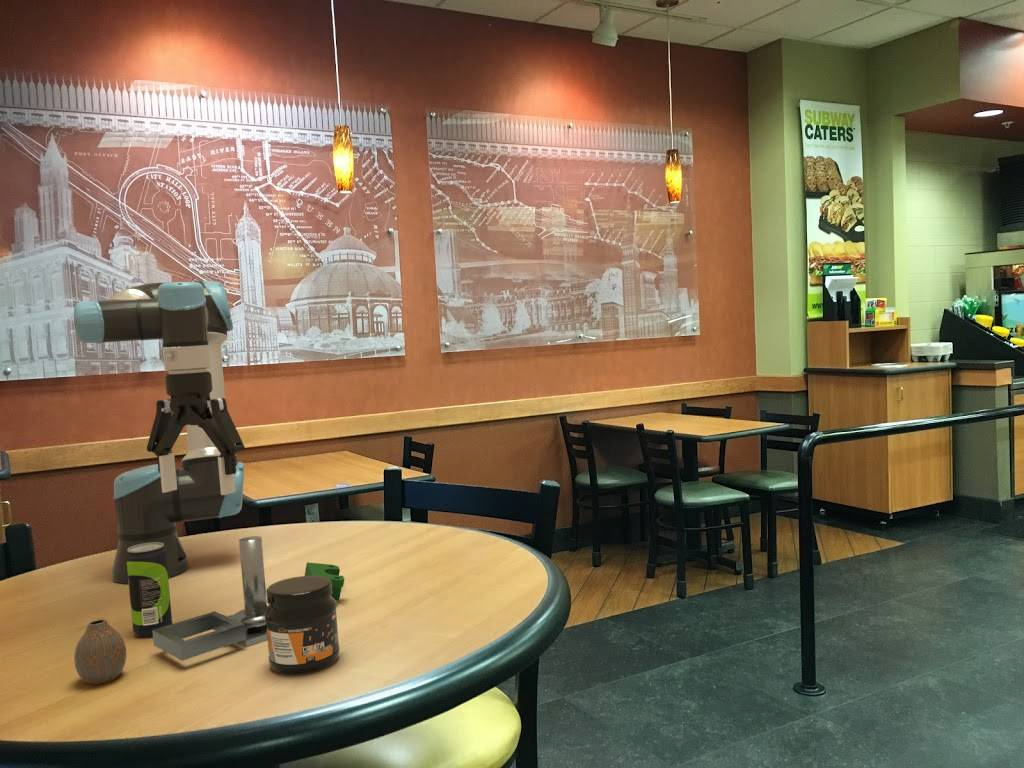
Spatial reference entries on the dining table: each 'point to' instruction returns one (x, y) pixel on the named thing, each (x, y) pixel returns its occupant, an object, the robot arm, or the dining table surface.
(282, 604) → the supplement container
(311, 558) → the dining table surface
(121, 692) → the dining table surface
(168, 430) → the robot arm
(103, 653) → the vase
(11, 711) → the dining table surface
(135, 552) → the beverage can
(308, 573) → the clamp
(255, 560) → the frame with upright rod
